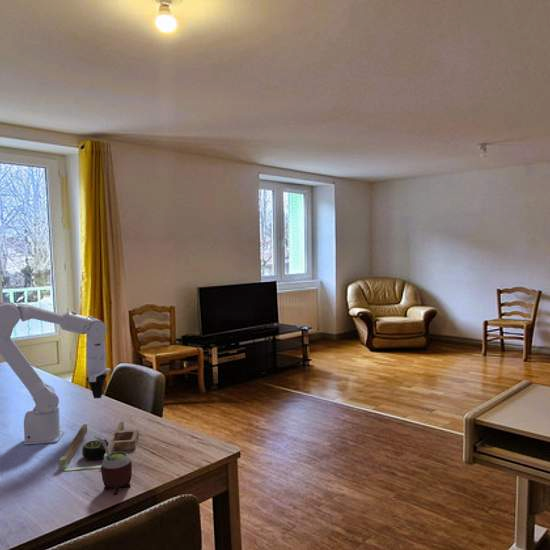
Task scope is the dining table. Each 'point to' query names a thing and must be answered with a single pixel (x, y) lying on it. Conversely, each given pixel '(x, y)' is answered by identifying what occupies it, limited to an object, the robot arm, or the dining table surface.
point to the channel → (122, 442)
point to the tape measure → (94, 450)
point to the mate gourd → (116, 470)
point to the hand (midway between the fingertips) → (97, 397)
